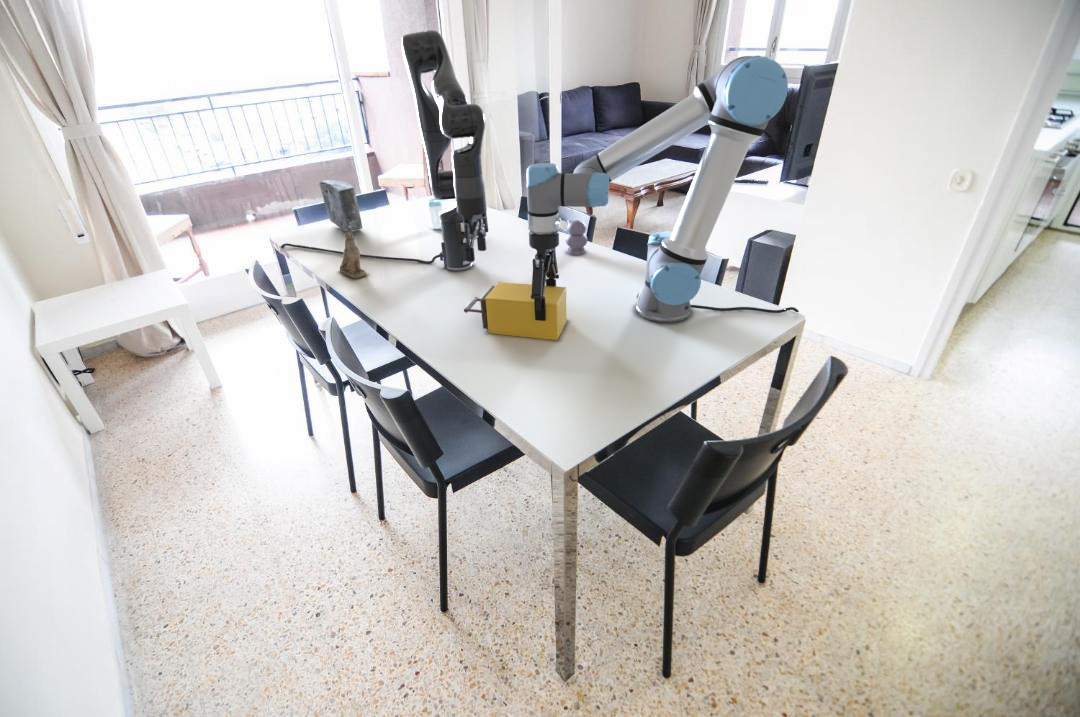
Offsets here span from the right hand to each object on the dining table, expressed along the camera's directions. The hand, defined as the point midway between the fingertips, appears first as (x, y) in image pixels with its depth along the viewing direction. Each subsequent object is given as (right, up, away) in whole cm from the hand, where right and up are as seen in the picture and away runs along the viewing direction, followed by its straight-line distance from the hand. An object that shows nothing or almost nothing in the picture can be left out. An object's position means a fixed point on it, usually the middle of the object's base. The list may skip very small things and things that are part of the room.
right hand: (546, 310), depth 134 cm
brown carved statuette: (-69, +18, +44) cm, 84 cm away
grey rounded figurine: (+12, +28, +55) cm, 63 cm away
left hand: (-19, +15, -1) cm, 24 cm away
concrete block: (-89, +45, +91) cm, 135 cm away
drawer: (-10, -3, +5) cm, 12 cm away
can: (-47, +46, +89) cm, 110 cm away
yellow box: (-5, -4, +4) cm, 8 cm away
